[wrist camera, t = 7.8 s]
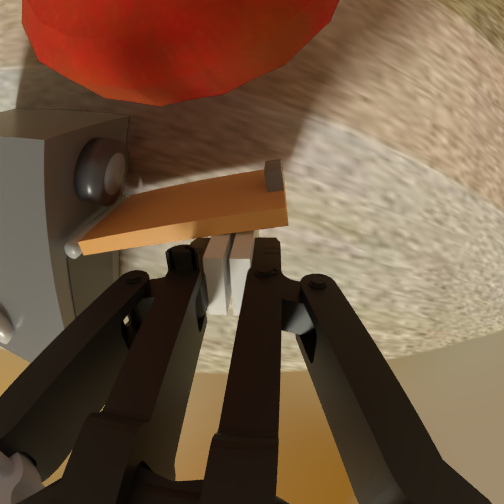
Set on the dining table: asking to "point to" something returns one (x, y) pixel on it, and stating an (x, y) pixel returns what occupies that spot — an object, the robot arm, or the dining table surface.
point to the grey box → (54, 218)
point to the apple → (169, 43)
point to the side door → (188, 212)
